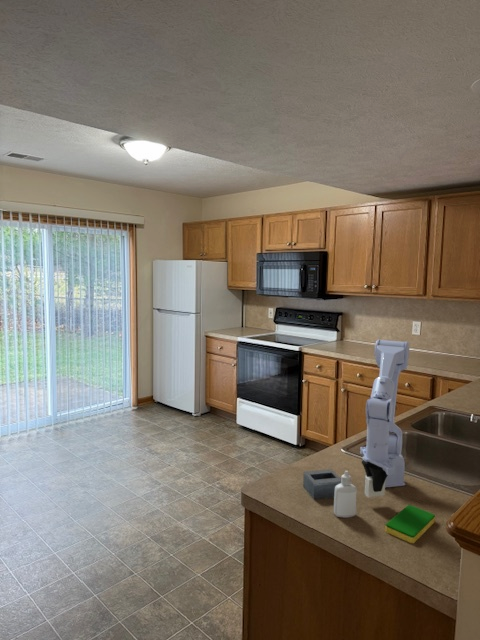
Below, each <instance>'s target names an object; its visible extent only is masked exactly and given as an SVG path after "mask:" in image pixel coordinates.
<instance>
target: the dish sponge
mask: <svg viewBox="0 0 480 640" xmlns="http://www.w3.org/2000/svg"><path fill="white" fill-rule="evenodd" d="M435 518H436V515H435V514H434V513H433V512H429V511H427V510H424V509H421V508H419V507H416V506H414V505H411V504H408V505H406V506H405V507H404V508H403V509H401V511H399V512H398V513H397V514H396V515H395V516H393V517H392V518H391V519H390V520H389V521H387V522H386V523H385V533H387V534H389V535H392V536H393V537H396V538H398V539H400V540H403V541H405V542H408V543H410V544H415V543H416V541H417V540H418V539H420V538H421V537H422V535H424V533H426V531H428V529H430V528H431V527H432V525H433V524H434V523H435V522H436V521H435V520H436V519H435Z"/></svg>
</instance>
